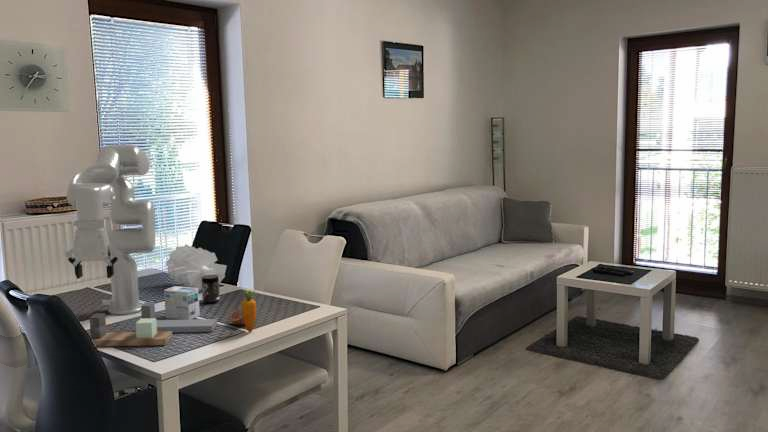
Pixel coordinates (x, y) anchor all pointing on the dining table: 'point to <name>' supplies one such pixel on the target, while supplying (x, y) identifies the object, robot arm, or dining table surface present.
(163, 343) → the wooden board with post
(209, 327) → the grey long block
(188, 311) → the light bulb box
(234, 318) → the fruit slice
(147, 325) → the sage block
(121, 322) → the dining table surface
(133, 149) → the robot arm
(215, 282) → the supplement container
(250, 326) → the carrot
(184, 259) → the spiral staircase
